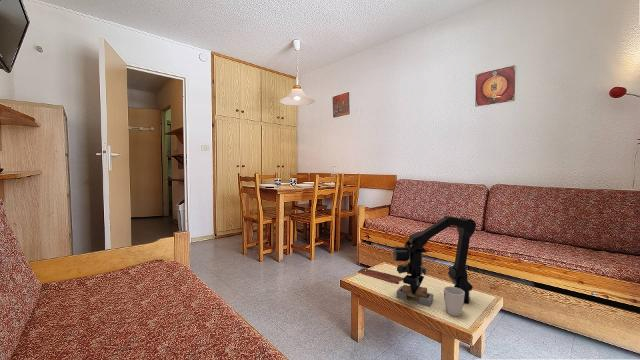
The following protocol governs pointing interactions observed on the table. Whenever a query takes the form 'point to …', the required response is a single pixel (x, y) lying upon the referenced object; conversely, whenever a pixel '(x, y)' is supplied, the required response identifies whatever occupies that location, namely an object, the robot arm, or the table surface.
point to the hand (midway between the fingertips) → (414, 292)
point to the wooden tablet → (381, 275)
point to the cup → (453, 300)
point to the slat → (419, 293)
